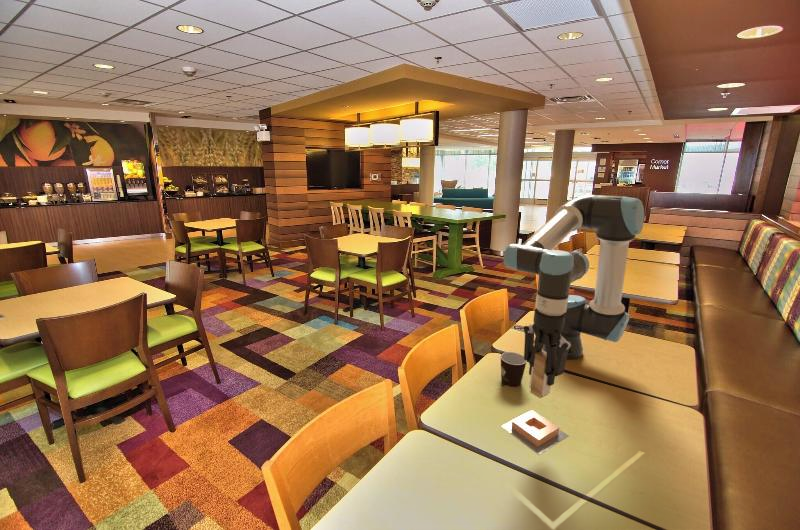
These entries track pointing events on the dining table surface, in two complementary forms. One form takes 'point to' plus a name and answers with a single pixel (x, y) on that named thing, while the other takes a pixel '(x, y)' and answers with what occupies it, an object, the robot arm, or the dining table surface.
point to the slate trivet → (539, 449)
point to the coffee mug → (512, 368)
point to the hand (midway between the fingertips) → (539, 390)
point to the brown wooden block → (539, 373)
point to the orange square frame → (535, 428)
